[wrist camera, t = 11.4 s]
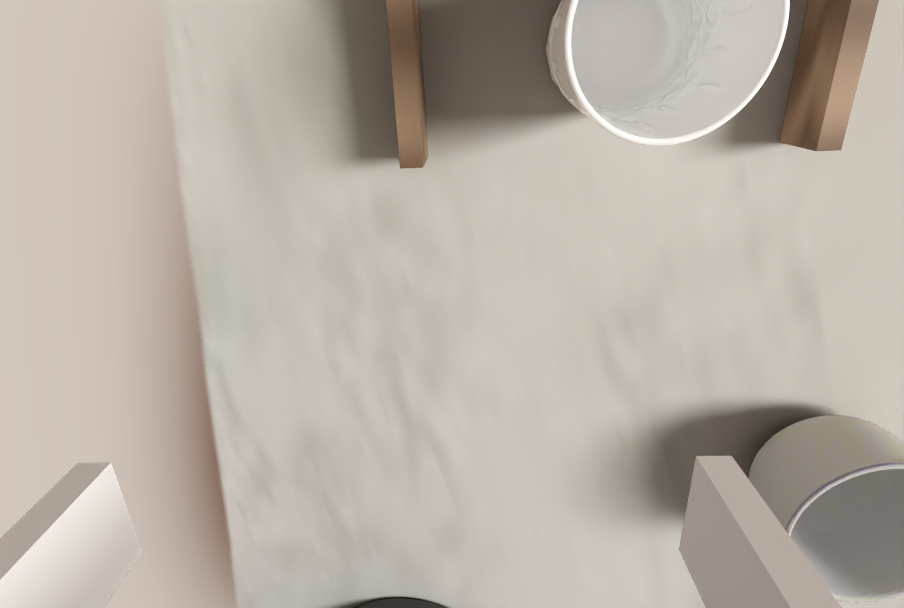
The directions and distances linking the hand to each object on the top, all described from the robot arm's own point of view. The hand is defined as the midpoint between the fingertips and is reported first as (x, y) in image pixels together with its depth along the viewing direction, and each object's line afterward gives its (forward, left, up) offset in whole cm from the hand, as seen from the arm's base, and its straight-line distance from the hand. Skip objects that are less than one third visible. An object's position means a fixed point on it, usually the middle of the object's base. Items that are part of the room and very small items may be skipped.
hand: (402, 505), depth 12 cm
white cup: (+10, -9, -23) cm, 26 cm away
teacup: (-18, -27, -23) cm, 40 cm away
